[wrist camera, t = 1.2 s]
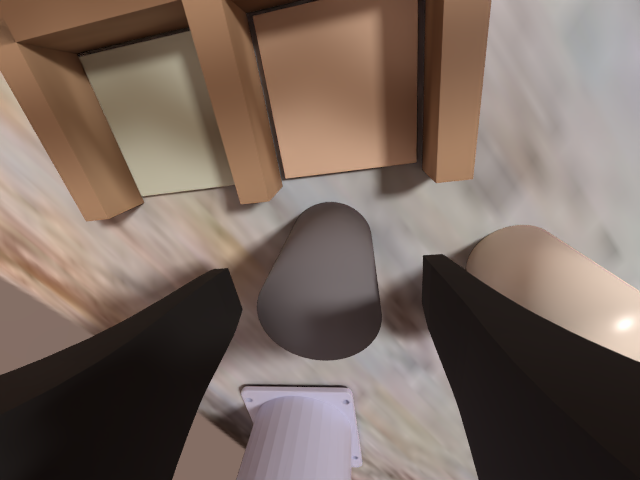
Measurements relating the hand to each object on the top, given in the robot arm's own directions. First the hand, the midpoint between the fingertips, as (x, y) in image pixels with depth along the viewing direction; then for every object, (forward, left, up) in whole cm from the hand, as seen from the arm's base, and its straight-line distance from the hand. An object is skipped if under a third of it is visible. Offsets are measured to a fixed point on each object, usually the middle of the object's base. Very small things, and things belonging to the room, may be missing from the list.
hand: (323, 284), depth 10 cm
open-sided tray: (+6, +3, -4) cm, 8 cm away
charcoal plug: (0, 0, -4) cm, 4 cm away
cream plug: (-2, -8, -4) cm, 10 cm away
